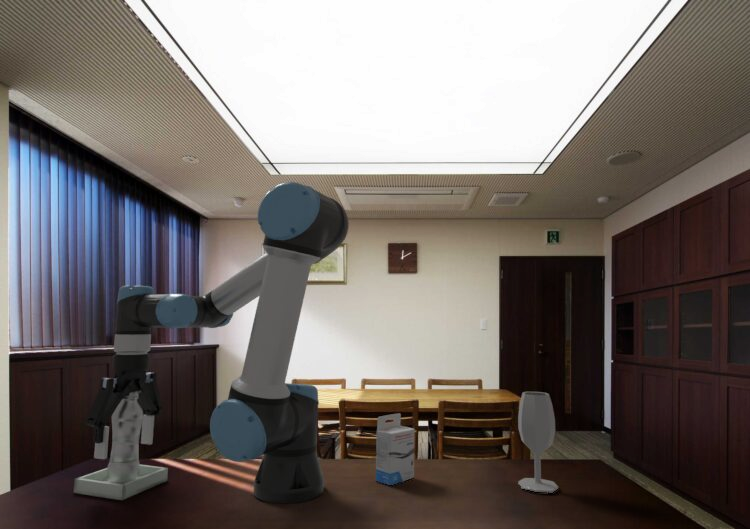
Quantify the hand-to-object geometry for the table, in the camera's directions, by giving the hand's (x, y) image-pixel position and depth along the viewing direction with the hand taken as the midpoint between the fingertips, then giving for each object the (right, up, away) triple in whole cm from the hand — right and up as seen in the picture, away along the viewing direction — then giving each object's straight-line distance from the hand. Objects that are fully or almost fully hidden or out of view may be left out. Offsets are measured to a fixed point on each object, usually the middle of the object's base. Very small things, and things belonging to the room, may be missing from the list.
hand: (124, 450), depth 107 cm
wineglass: (+93, -9, +2) cm, 94 cm away
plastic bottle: (0, -7, -1) cm, 7 cm away
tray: (0, -8, -1) cm, 8 cm away
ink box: (+61, -9, +6) cm, 62 cm away
